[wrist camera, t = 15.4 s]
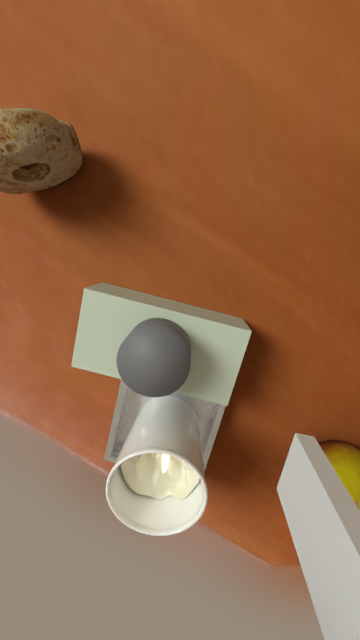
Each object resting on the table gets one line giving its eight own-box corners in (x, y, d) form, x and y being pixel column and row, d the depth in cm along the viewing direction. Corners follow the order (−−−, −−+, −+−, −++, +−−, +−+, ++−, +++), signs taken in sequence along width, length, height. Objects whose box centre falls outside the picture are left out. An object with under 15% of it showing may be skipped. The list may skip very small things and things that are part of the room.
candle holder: (210, 446, 39) (216, 529, 27) (142, 457, 40) (120, 542, 28) (195, 382, 37) (195, 443, 25) (124, 396, 38) (92, 460, 26)
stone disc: (21, 205, 33) (-51, 185, 23) (6, 173, 32) (-75, 139, 23) (99, 170, 32) (58, 134, 22) (85, 136, 31) (36, 83, 21)
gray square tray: (226, 388, 37) (228, 397, 35) (199, 470, 40) (200, 484, 38) (127, 363, 37) (123, 370, 35) (109, 448, 40) (103, 459, 38)
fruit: (273, 456, 39) (311, 495, 31) (332, 416, 40) (382, 444, 33) (304, 517, 41) (347, 568, 33) (360, 477, 42) (413, 517, 34)
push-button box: (242, 318, 35) (260, 343, 25) (221, 384, 37) (230, 431, 27) (102, 282, 35) (67, 293, 25) (90, 351, 37) (52, 386, 27)
